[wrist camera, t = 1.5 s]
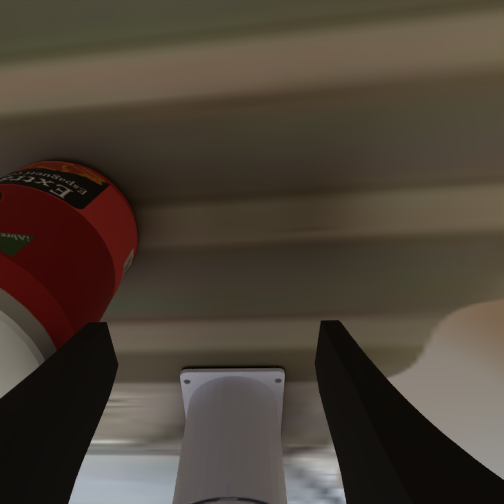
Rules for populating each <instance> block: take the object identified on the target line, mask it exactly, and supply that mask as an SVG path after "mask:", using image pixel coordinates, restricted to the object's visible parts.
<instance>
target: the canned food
mask: <svg viewBox="0 0 504 504" xmlns="http://www.w3.org/2000/svg"><path fill="white" fill-rule="evenodd" d="M136 250H137V225H136V220H135V216H134V214H133V211H132V209H131V206H130V205H129V203H128V201H127V200H126V198H125V196H124V195H123V194H122V193H121V192H120V190H119V189H118V188H117V187H116V186H115V185H114V184H113V183H112V182H110V181H109V180H108V179H107V178H106V177H104V176H103V175H101V174H99V173H98V172H96V171H94V170H92V169H90V168H87V167H85V166H82V165H79V164H75V163H69V162H63V161H42V162H37V163H33V164H29V165H27V166H25V167H23V168H21V169H19V170H16V171H14V172H12V173H10V174H8V175H6V176H4V177H1V178H0V398H1V397H3V396H4V395H5V394H6V393H8V392H9V391H10V390H11V389H12V388H14V387H15V386H16V385H17V384H18V383H20V382H21V381H22V380H23V379H25V378H26V377H27V376H28V375H29V374H31V373H32V372H33V371H34V370H35V369H37V368H38V367H39V366H40V365H41V364H42V363H43V362H45V361H46V360H47V359H48V358H49V357H50V356H51V355H52V354H54V353H55V352H56V351H57V350H58V349H59V348H60V347H61V346H62V345H64V344H65V343H66V342H67V341H68V340H69V339H70V338H71V337H72V336H73V335H75V334H76V333H77V332H78V331H79V330H80V329H81V328H82V327H83V326H85V325H86V324H87V323H88V322H99V321H100V319H101V318H102V316H103V314H104V312H105V310H106V309H107V307H108V305H109V303H110V301H111V299H112V298H113V296H114V294H115V292H116V290H117V289H118V287H119V285H120V283H121V281H122V280H123V278H124V276H125V274H126V272H127V270H128V269H129V267H130V265H131V263H132V261H133V260H134V257H135V253H136Z"/></svg>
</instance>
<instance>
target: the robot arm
mask: <svg viewBox="0 0 504 504" xmlns="http://www.w3.org/2000/svg"><path fill="white" fill-rule="evenodd" d="M315 367H316V374H317V381H318V387H319V393H320V396H321V400H322V404H323V408H324V411H325V415H326V419H327V422H328V426H329V430H330V433H331V437H332V440H333V444H334V448H335V451H336V455H337V459H338V463H339V467H340V471H341V476H342V481H343V487H344V492H345V498H346V503H347V504H504V480H503V479H502V478H500V477H499V476H497V475H496V474H495V473H493V472H492V471H490V470H489V469H488V468H486V467H485V466H484V465H482V464H481V463H480V462H478V461H477V460H475V458H473V457H472V456H471V455H469V454H468V453H467V452H466V451H464V450H463V449H462V448H461V447H460V446H458V445H457V444H456V443H454V442H453V441H452V440H451V439H449V438H448V437H447V436H446V435H445V434H443V433H442V432H441V431H440V430H439V429H438V428H437V427H435V426H434V425H433V424H432V423H431V422H429V420H427V419H426V418H425V417H424V416H423V415H422V414H421V413H420V412H419V411H418V410H417V409H416V408H415V407H414V406H413V405H412V404H411V403H409V402H408V401H407V399H405V398H404V396H403V395H402V394H401V393H400V392H399V391H398V390H397V389H396V388H395V387H394V386H393V385H392V384H391V383H390V382H389V381H388V379H387V378H386V377H385V376H384V375H383V374H382V373H381V372H380V370H379V369H378V368H377V367H376V366H375V365H374V364H373V362H372V361H371V360H370V359H369V358H368V356H367V355H366V354H365V353H364V352H363V350H362V349H361V348H360V347H359V345H358V344H357V343H356V341H355V340H354V339H353V338H352V336H351V335H350V334H349V332H348V331H347V330H346V328H345V327H344V326H343V324H342V323H341V322H340V321H339V320H327V321H321V324H320V331H319V338H318V345H317V352H316V359H315ZM117 368H118V362H117V358H116V355H115V351H114V347H113V344H112V340H111V336H110V333H109V329H108V326H107V322H88V323H87V324H86V325H85V326H83V327H82V328H81V329H80V330H79V331H78V332H77V333H76V334H75V335H73V336H72V337H71V338H70V339H69V340H68V341H67V342H66V343H65V344H64V345H62V346H61V347H60V348H59V349H58V350H57V351H56V352H55V353H54V354H52V355H51V356H50V357H49V358H48V359H47V360H46V361H45V362H43V363H42V364H41V365H40V366H39V367H38V368H37V369H35V370H34V371H33V372H32V373H31V374H29V375H28V376H27V377H26V378H25V379H23V380H22V381H21V382H20V383H18V384H17V385H16V386H15V387H14V388H12V389H11V390H10V391H9V392H8V393H6V394H5V395H4V396H3V397H1V398H0V504H68V503H69V500H70V496H71V493H72V490H73V487H74V484H75V480H76V478H77V475H78V472H79V470H80V467H81V464H82V462H83V459H84V457H85V454H86V452H87V450H88V447H89V445H90V443H91V440H92V438H93V435H94V433H95V431H96V428H97V426H98V423H99V421H100V419H101V416H102V414H103V411H104V409H105V406H106V404H107V401H108V399H109V396H110V394H111V390H112V387H113V383H114V380H115V376H116V372H117ZM278 378H279V379H278ZM186 379H187V380H186ZM180 380H181V387H182V395H183V402H184V409H185V416H186V424H185V430H184V436H183V443H182V449H181V455H180V461H179V467H178V473H177V479H176V485H175V491H174V498H173V504H287V497H286V486H285V476H284V465H283V455H282V444H281V434H280V433H281V420H282V407H283V393H284V380H285V373H284V370H283V369H281V368H237V369H184V370H182V371H181V374H180Z"/></svg>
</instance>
